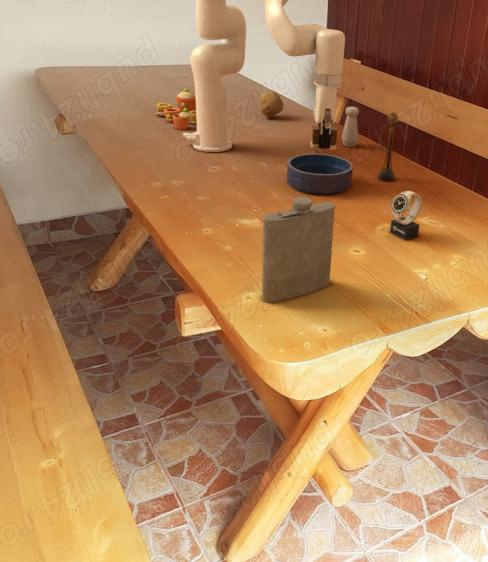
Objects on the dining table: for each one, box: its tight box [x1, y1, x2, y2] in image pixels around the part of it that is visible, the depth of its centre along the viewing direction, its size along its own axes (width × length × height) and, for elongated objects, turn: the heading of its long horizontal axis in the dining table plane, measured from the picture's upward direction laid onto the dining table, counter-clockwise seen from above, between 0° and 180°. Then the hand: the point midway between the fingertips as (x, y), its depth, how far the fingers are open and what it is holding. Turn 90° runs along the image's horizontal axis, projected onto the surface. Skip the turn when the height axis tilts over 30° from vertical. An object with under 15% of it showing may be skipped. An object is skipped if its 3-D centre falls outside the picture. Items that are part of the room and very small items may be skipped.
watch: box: [389, 190, 422, 241], centre depth 156 cm, size 6×8×11 cm
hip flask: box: [261, 196, 336, 303], centre depth 126 cm, size 16×4×20 cm, turn 128°
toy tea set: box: [153, 87, 197, 131], centre depth 231 cm, size 26×16×10 cm, turn 30°
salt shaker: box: [341, 106, 360, 148], centre depth 217 cm, size 6×6×13 cm
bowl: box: [286, 153, 354, 196], centre depth 184 cm, size 19×19×6 cm
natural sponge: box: [259, 90, 285, 119], centre depth 242 cm, size 9×9×10 cm
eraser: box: [310, 124, 338, 151], centre depth 179 cm, size 7×4×6 cm, turn 97°
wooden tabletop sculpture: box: [377, 112, 401, 183], centre depth 188 cm, size 6×5×20 cm
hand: (323, 144), depth 181 cm, fingers closed on eraser, 4 cm apart
